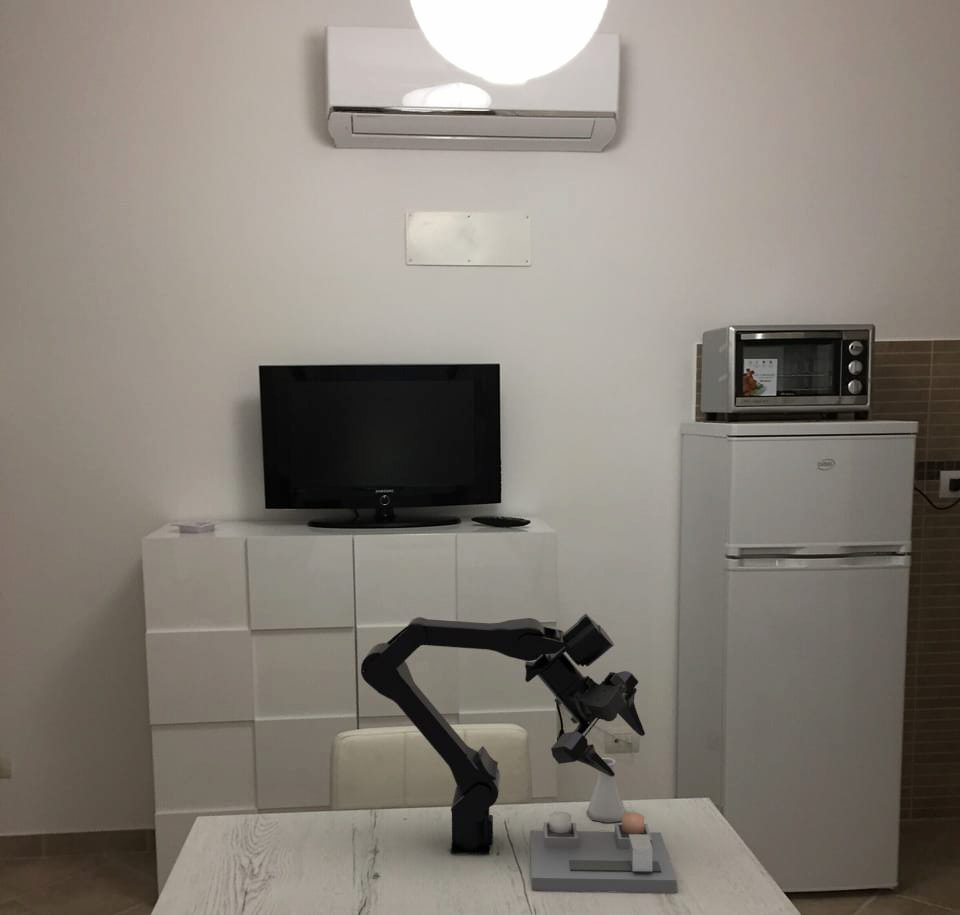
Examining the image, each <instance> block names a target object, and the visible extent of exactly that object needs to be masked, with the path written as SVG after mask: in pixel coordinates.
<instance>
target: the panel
mask: <svg viewBox="0 0 960 915" xmlns="http://www.w3.org/2000/svg"><path fill="white" fill-rule="evenodd" d="M640 835H648V836H649V839H650V842H651V845H652V871H632V867H631V863H630V859H629V833H626V832H625V831H623V829H622V822H621V823H620V822H619V823H618V822H614V831H603V830H602V831H597V830H596V831H590V830H589V831H587V830H584V831H583V830H580V831H579V830H578V829H577V823H576V822H571V830H570V831H569V832H566V833H556V832H553V831H551V830H550V821H549V822H543V830H529V845H530V847H529V849H530V874H531V876H530V878H531V879H530V882H531V891H532V890H538V891H539V892H546V891H547V892H587V891H589V892H593V891H595V892H596V891H600V892H601V893H602V892H603V893H604V891H611V892H610V893H613V892H612V891H616V893H647V892H648V893H653V894H655V893H656V894H657V893H658V894H660V893H663V894H678V892H677V891H678V880H677V876H676V874H675V871H674V868H673V865H672V862H671V858H670V857H669V853H668V851H667V847H666V844H665V841H664V839H663V838H664V837H663V834H662V832H659V831H658V832H657V831H656V832H655V831H650V828H649V825H648V823H644V832H642V833H640ZM538 891H537V892H538ZM619 891H621V892H619ZM600 892H599V893H600Z"/></svg>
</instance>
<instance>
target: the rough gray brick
mask: <svg viewBox="0 0 960 915" xmlns="http://www.w3.org/2000/svg"><path fill="white" fill-rule="evenodd" d="M629 859H630V863H631V867H632V871H652V845H651V842H650V839H649V836H648V835H640V834H629Z"/></svg>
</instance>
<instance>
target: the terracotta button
mask: <svg viewBox="0 0 960 915" xmlns="http://www.w3.org/2000/svg"><path fill="white" fill-rule="evenodd" d="M621 823H622V829H623V831H625V832H626V833H629V834H640V833H642V832H644V824H645V816H644V815H643V814H641V813H639V812H635V811H634V812H633V811H628V812H627V811H626V813H624V814H623V815H622V821H621Z"/></svg>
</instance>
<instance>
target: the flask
mask: <svg viewBox="0 0 960 915" xmlns="http://www.w3.org/2000/svg"><path fill="white" fill-rule="evenodd" d="M601 758H602V759H603V760H604V761H605V763H606V764H607V765H608V766H609V767H610V768H611V769H612V771H613V772H614V773H615V768H614V767H615V765H616V762H617V761H616V760H615V759H614V758H611V757H601ZM597 776H598V777H597V780H596V781H597V782H596V785H595V788H594V790H593V793H592V795H591V798H590V800H589V803H588V807H587V809H586V814H587V815H588V816H589V818H590V820H592V821H597V822H602V823H606V824H607V823H618V822H622V815H623V814H624V813H627V811H626V808H625V806H624V802H623V800H622V797H621V795H620V791H619V787H618V785H617V781H616V776H615V775H614V776H612V777H611V776H609V775H607V774H605V773H603V772H601V771H599V770H598V775H597Z"/></svg>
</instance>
